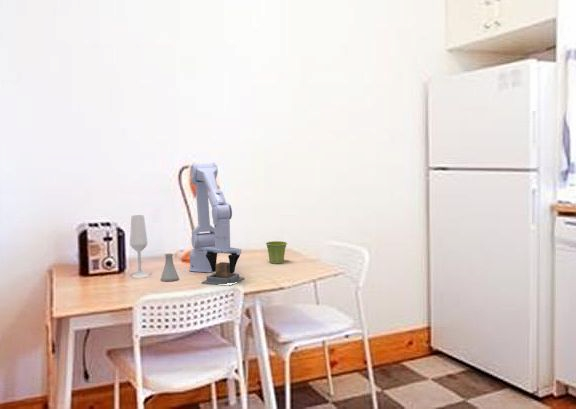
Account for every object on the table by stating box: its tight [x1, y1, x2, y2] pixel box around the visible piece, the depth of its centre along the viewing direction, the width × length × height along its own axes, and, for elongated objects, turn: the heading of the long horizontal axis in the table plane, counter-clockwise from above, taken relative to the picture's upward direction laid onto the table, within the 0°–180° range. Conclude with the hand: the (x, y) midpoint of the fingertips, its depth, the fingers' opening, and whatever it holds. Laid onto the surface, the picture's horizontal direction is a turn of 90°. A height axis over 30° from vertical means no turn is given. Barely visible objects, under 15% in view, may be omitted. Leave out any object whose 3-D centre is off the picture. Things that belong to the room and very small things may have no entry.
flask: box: [160, 252, 180, 282], centre depth 218 cm, size 7×7×10 cm
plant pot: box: [265, 240, 288, 265], centre depth 248 cm, size 9×9×9 cm
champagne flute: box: [129, 214, 149, 279], centre depth 224 cm, size 7×7×24 cm
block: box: [215, 261, 232, 278], centre depth 215 cm, size 4×4×6 cm
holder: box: [201, 272, 245, 286], centre depth 214 cm, size 12×12×2 cm
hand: (223, 272), depth 214 cm, fingers open, 7 cm apart
